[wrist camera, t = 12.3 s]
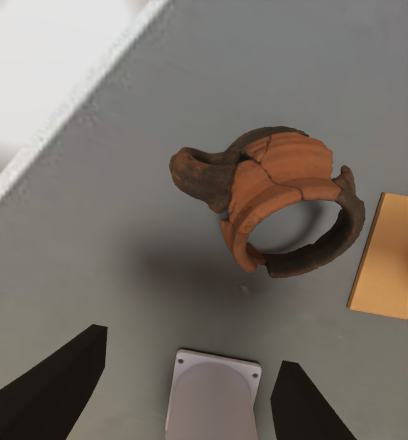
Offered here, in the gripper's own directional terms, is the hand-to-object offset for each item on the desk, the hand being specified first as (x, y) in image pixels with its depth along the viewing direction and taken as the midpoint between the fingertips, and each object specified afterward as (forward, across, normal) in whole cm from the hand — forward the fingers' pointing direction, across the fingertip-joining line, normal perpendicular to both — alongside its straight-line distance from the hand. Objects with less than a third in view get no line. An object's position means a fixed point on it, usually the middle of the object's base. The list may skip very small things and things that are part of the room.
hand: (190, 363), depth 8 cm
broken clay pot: (+10, -3, -7) cm, 13 cm away
